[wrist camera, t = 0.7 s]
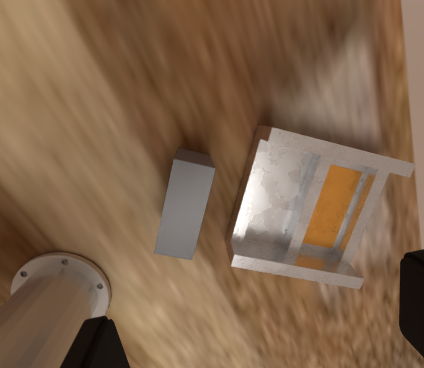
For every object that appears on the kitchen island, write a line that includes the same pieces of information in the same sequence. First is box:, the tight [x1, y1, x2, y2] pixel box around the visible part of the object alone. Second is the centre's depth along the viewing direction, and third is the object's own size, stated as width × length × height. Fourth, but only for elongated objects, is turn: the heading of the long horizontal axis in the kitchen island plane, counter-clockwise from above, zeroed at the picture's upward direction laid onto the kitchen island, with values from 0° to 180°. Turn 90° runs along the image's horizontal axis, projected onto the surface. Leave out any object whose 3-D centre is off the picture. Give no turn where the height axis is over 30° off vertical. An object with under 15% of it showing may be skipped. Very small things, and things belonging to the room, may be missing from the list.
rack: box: [225, 125, 416, 289], centre depth 32 cm, size 16×16×6 cm
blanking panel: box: [154, 148, 216, 260], centre depth 30 cm, size 10×4×8 cm, turn 166°
